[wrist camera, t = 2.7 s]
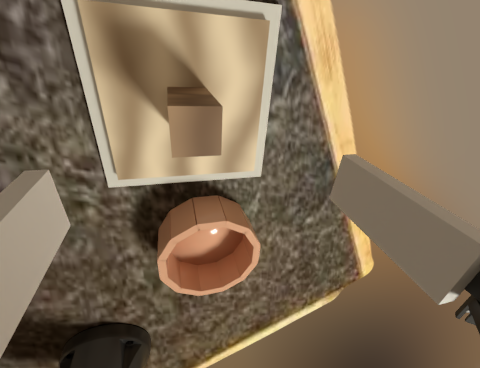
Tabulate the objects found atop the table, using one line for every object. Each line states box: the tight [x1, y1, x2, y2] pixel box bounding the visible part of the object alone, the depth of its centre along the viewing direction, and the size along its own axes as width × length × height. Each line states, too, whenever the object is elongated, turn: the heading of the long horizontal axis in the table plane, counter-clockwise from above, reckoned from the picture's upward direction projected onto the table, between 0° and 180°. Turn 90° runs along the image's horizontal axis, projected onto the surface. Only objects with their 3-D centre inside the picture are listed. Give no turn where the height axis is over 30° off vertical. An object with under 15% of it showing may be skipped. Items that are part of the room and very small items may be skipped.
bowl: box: [157, 195, 260, 296], centre depth 35 cm, size 14×14×6 cm
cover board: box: [77, 0, 270, 180], centre depth 22 cm, size 17×17×10 cm
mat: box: [61, 0, 282, 187], centre depth 27 cm, size 20×20×1 cm
